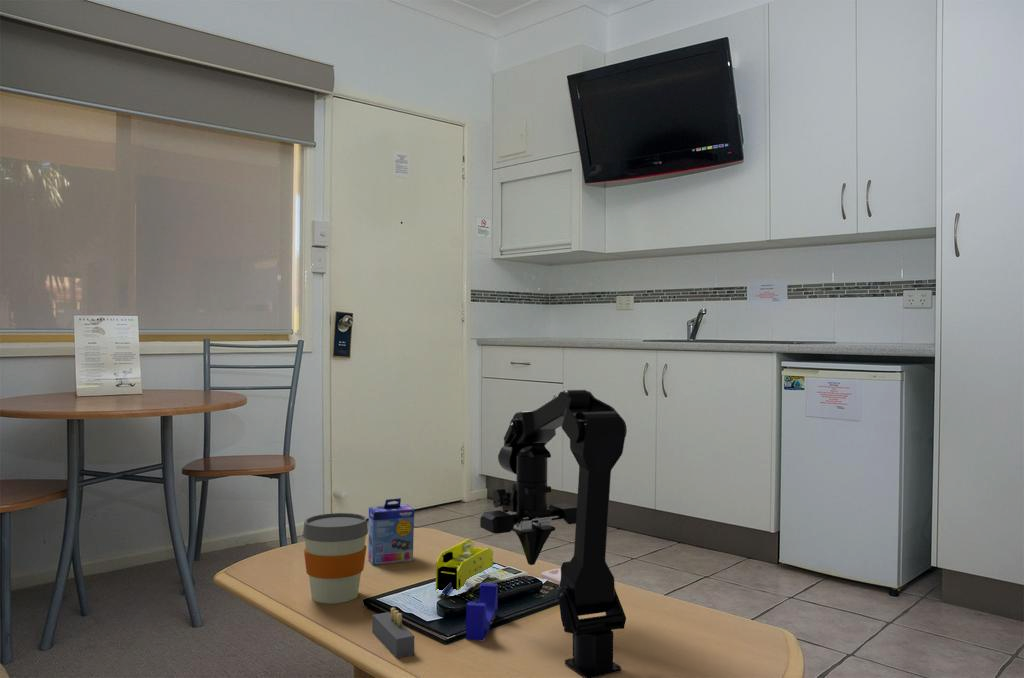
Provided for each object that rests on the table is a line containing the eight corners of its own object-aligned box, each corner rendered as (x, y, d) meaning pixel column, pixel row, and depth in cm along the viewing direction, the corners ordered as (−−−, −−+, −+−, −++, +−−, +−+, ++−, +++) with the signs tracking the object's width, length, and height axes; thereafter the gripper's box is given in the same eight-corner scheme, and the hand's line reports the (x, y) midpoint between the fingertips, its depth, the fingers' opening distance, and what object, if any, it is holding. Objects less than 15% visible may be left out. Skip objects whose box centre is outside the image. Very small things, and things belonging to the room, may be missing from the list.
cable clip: (473, 614, 137) (473, 582, 137) (497, 616, 136) (497, 583, 137) (457, 639, 125) (457, 604, 126) (483, 641, 125) (483, 606, 125)
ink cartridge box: (372, 566, 166) (373, 501, 166) (366, 559, 171) (367, 496, 171) (414, 561, 170) (415, 498, 171) (407, 554, 175) (408, 493, 176)
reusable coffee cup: (319, 611, 138) (319, 530, 138) (291, 593, 147) (292, 518, 147) (378, 597, 146) (379, 521, 146) (349, 581, 155) (349, 509, 155)
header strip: (415, 654, 119) (415, 623, 119) (396, 658, 117) (396, 626, 117) (389, 629, 129) (389, 600, 129) (372, 632, 128) (372, 603, 128)
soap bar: (568, 594, 149) (568, 582, 149) (539, 583, 157) (539, 571, 157) (587, 589, 153) (587, 577, 153) (558, 578, 160) (558, 567, 160)
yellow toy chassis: (470, 574, 161) (470, 536, 161) (494, 578, 159) (494, 539, 159) (433, 597, 147) (433, 554, 147) (458, 601, 144) (459, 558, 144)
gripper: (551, 469, 149) (551, 547, 148) (467, 477, 140) (466, 560, 139) (583, 478, 139) (582, 562, 139) (494, 486, 130) (494, 576, 130)
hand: (531, 564), depth 137 cm, fingers closed
